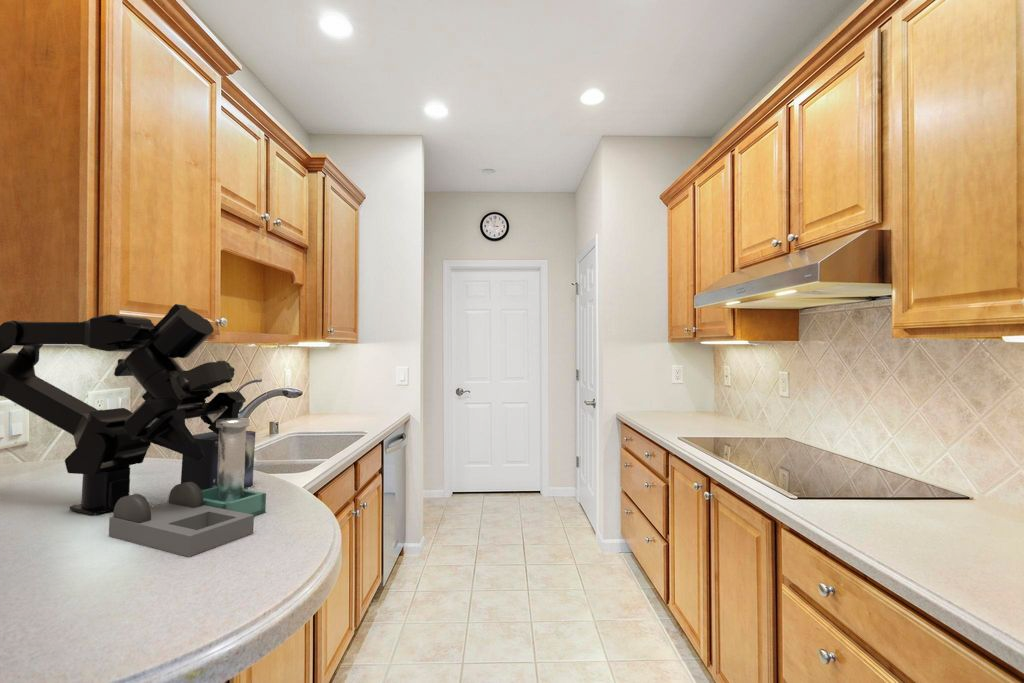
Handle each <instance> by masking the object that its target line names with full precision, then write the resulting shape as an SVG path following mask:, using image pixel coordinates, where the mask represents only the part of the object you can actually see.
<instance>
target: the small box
mask: <svg viewBox="0 0 1024 683" xmlns="http://www.w3.org/2000/svg"><path fill="white" fill-rule="evenodd" d="M256 433H257V432H256V431H253V430H246V446H245V471H244V489H247V488H251V487H253V485H254V467H255V466H254V465H255V446H256ZM192 435H193V437H194V438H195V440H196V441H197V443H198V444H199V446H200V447H201V449H202V450H203V452H204V454H205V457H204V458H203V459H202V460H201V461H197V460H195V459H192V458H190V457H188V456H185V455H183V454H181V455H182V458H181V472H180V474H181V476H180V484H182V483H186V482H193V483H195V484H196V485H197V486H198V487H199V488H200V490H201V491H202V490H206V489H210V488H214V487H217V473H218V447H219V435H218V434H216V433H215V432H213V431H209V432H204V433H197V434H192Z"/></svg>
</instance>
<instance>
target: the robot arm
mask: <svg viewBox="0 0 1024 683" xmlns="http://www.w3.org/2000/svg"><path fill="white" fill-rule="evenodd" d="M213 333H214V327H213V325H212V323H211V322H210V321H209V320H208V319H206V318H204V317H203V316H202V315H200V314H199V313H197V312H195V311H192V310H190V309H189V307H188V306H187V305H186V304H184V305H183V304H179V303H178V304H177V303H176V304H174V305H172V307H171V308H170V309H169V310H168V312H167V314H166V315H165V316H163V318H162V319H160V320H159V321H158V322H157V323H156V324H154V323H153V322H152V320H151V319H150V318H147V317H140V316H132V315H130V316H129V315H120V314H113V313H112V314H111V313H110V314H104V315H99V316H93V317H91V318H89V319H87V320H84V321H83V320H82V321H25V320H24V321H23V320H9V321H5V322H3V323H1V324H0V397H3V398H6V399H8V401H11V402H12V403H14V404H16V405H18V406H20V407H22V408H23V409H25V410H27V411H29V412H31V413H32V414H34V415H35V416H38V417H39V418H41V419H43V420H44V421H47V422H48V423H50V424H52V425H54V426H56V427H58V429H59V428H60V430H63V431H65V432H67V433H68V434H70V435H72V436H73V439H74V444H75V449H74V450H73V451H72V452H70V454H69V455H68V456H67V457H66V458H65V459H64V464H65V468H66V471H67V474H75V475H76V474H77V475H82V483H81V484H82V485H81V503H78V504H73V505H70V506H69V510H70V511H75V512H79V513H82V514H86V515H91V516H93V515H99V514H103V513H108V512H111V511H112V512H113V511H114V507H115V505H116V503H117V501H118V500H119V499H120V498H122V497H125V496H129V495H130V484H131V478H130V477H131V466H132V465H136V464H137V465H138V464H142V463H143V462H144V459H145V458H146V455H147V452H148V450H149V448H150V447H151V444H154V445H156V446H159V447H163V448H166V449H168V450H170V451H173V452H175V453H178V454H180V455H185V456H188V457H190V458H192V459H195V460H197V461H201V460H202V459H203V458H204V457H205V454H204V452H203V450H202V449H201V447H200V446H199V444H198V443H197V441H196V440H195V438H194V437H193V435H194V434H192V433H191V431H190V430H189V428H188V427H187V425H186V420H188V419H193V418H200V419H201V421H202V422H203V423H205V424H207V425H209V426H208V427H207V428H208V429H209V430H210V431H211V432H215V433H216V434H218V435H219V428H216V420H219V419H226V418H239V414H240V410H241V409H242V408H243V406H244V404H245V403H246V397H244V396H243V394H242V393H241V392H240V391H237V390H234V391H233V390H231V391H221V392H218V393H217V394H216V395H215V396H214V397H213V398H211V400H210V401H208V402H207V400H206V399H207V398H210V397H211V395H213V394H214V392H215V391H214V390H213V389H215V388H217V387H219V386H221V385H223V384H229V383H231V382H232V381H233V378H234V376H235V370H236V369H235V367H233V366H232V365H231V363H230V362H227V361H226V360H218V361H209V362H205V363H203V364H200V365H198V366H195V367H193V368H190V369H189V370H184V369H183V368H182V367H181V366H180V365H179V363H178V362H177V361H176V359H177V358H180V359H186V358H188V357H190V356H191V355H192V354H193V353H194V352H195V351H196V350H197V349H198V348H199V347H200V346H201V345H202V344H203V343H204V342H205V341H206V340H207V339H208V338H209V337H210V336H211V335H212V334H213ZM44 345H46V346H47V345H48V346H50V345H55V346H57V345H58V346H60V345H61V346H63V345H64V346H66V345H67V346H68V345H70V346H78V345H79V346H80V345H81V346H86V347H87V348H90V349H93V350H100V351H103V352H117V353H121V352H122V353H125V352H126V353H129V352H130V353H129V354H128V355H127V356H126V357H125V358H118V359H117V365H116V367H115V368H114V372H113V375H114V377H132V376H133V378H135V380H136V381H137V382H138V383H139V384H140V386H141V387H142V389H143V390H145V393H143V394H142V395H141V397H142V399H143V400H144V401H143V402H142V403H140V405H139V406H138V407H137V408H136V409H135V410H134V411H133V412H132V411H131V410H129V409H127V408H124V407H119V408H109V409H100V410H99V409H97V408H95V407H93V406H92V405H90V404H87V403H86V402H84V401H82V400H81V399H79V398H77V397H76V396H73V395H72V394H70V393H67V392H66V391H64V390H62V389H61V388H59V387H57V386H55V385H53V384H52V383H49V382H47V381H45V380H44V379H42V378H40V377H39V376H37V375H36V371H35V365H37V364H38V363H39V360H40V349H41V348H42V347H43V346H44ZM13 346H15V347H16V346H19V347H20V346H22V347H21V348H20V350H19V351H18V352H7V351H8V350H10V349H11V348H12V347H13ZM245 446H246V443H245Z"/></svg>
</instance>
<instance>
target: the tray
mask: <svg viewBox="0 0 1024 683" xmlns="http://www.w3.org/2000/svg"><path fill="white" fill-rule="evenodd" d="M201 492H202V495H203V505H206V506H211V507H216V508H221V509H226V510H231V511H236V512H241V513H247V514H252V515H254V517H256V516H259V515H262V514H265V513H266V510H267V509H266V507H267V506H266V505H267V493H266V492H261V491H255V490H251V489H250V490H249V489H246V488H244V498H242V499H238V500H235V501H231V502H228V503H227V502H222V501H217V487H214V488H210V489H206V490H202V491H201Z"/></svg>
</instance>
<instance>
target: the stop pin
mask: <svg viewBox="0 0 1024 683" xmlns="http://www.w3.org/2000/svg"><path fill="white" fill-rule="evenodd" d="M249 426H250V418H246V417H238V418H226V419H219V420H216V428H219V447H218V473H217V501H222V502H227V503H228V502H231V501H235V500H238V499H242V498H244V489H245V488H244V471H245V443H246V431H247V428H248V427H249Z"/></svg>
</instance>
